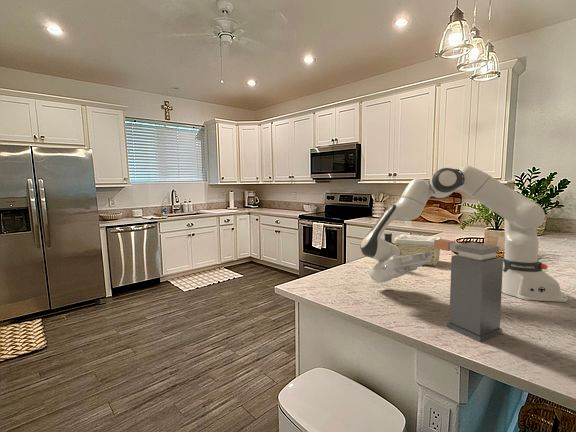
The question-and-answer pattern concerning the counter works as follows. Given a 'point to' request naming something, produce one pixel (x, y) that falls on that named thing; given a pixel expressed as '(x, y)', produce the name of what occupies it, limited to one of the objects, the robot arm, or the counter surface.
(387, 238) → the sauce bottle
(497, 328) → the sleeve
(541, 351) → the counter surface
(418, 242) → the storage basket
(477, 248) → the layered grey-topped block
